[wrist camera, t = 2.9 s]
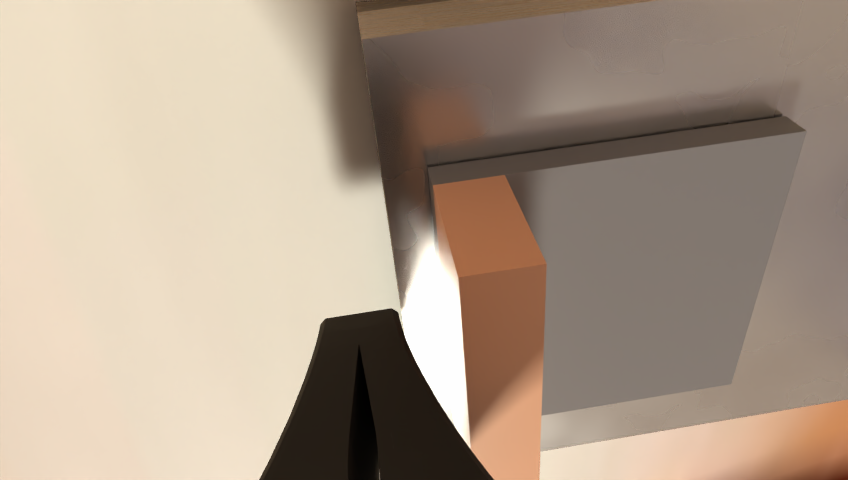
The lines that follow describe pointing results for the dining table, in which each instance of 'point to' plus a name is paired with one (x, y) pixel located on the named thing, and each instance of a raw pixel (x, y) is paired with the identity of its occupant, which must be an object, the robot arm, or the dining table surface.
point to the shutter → (601, 274)
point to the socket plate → (616, 120)
